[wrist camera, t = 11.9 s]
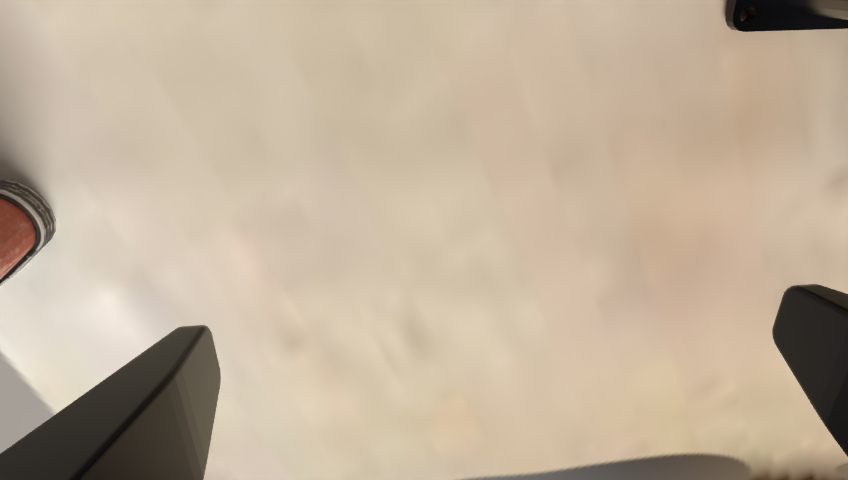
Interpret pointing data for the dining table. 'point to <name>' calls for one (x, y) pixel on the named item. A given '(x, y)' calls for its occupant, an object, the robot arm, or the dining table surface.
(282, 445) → the dining table surface
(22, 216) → the lighter
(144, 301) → the dining table surface
